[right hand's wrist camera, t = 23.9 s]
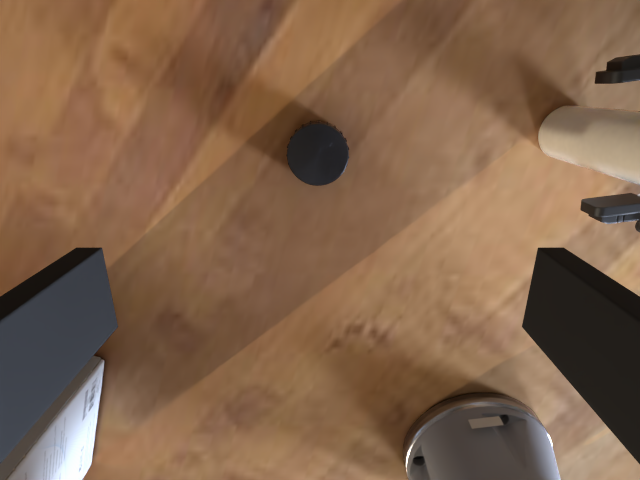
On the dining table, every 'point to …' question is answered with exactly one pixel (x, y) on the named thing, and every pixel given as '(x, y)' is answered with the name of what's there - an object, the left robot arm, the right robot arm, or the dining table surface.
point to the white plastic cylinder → (594, 139)
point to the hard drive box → (61, 433)
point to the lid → (317, 153)
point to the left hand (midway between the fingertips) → (594, 147)
